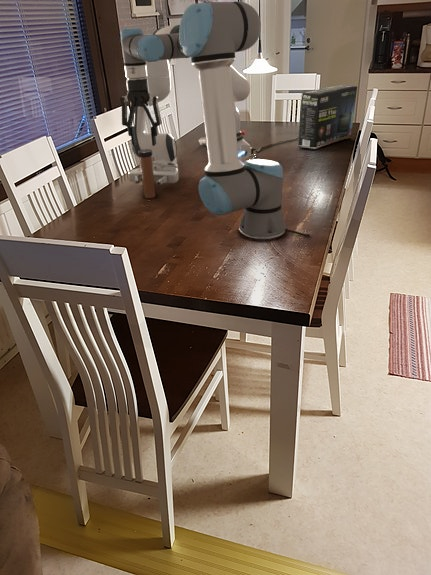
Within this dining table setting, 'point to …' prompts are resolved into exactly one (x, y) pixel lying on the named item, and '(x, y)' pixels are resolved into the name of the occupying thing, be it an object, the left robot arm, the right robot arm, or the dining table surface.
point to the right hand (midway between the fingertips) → (144, 144)
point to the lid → (145, 153)
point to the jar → (147, 177)
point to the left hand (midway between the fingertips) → (147, 182)
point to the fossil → (203, 141)
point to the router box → (326, 115)
